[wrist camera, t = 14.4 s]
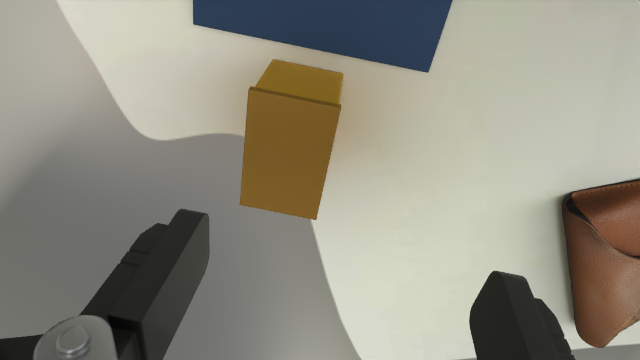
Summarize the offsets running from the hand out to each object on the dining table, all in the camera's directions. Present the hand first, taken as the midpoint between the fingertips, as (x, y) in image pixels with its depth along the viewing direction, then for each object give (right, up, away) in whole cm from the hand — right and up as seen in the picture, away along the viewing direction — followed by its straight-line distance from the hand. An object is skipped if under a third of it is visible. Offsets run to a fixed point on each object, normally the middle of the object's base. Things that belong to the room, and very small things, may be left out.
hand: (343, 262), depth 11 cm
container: (-2, +8, +22) cm, 23 cm away
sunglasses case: (+27, -5, +27) cm, 39 cm away
